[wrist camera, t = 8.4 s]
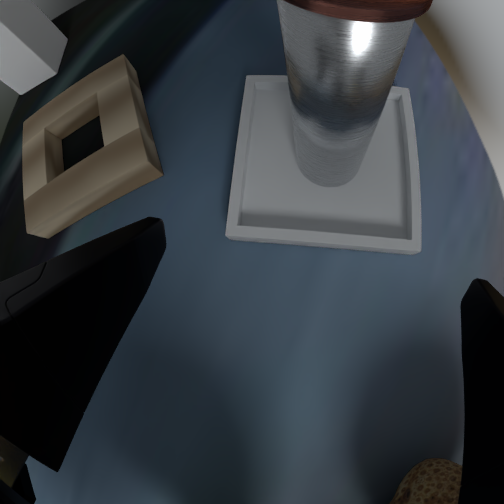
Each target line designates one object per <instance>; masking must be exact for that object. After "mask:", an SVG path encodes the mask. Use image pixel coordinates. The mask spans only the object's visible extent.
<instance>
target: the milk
mask: <svg viewBox="0 0 504 504" xmlns="http://www.w3.org/2000/svg"><path fill="white" fill-rule="evenodd" d="M67 41H68V39H67V38H66V37H65V36H64V35H63V33H62V32H61V31H60V30H59V29H58V28H57V27H56V26H55V25H54V24H53V23H52V22H51V20H49V18H48V17H47V16H46V15H45V14H44V13H43V12H42V11H41V10H40V9H39V8H38V6H37V5H36V4H35V3H34V2H33V1H32V0H0V80H1V81H3V82H4V83H5V84H7V85H8V86H9V87H10V88H12V89H13V90H15V91H16V92H17V93H19V94H20V95H22V94H24V93H26V92H27V91H29V90H30V89H32V88H34V87H35V86H37V85H39V84H40V83H42V82H44V81H45V80H47V79H49V78H51V77H53V76H54V75H56V74H57V73H58V69H59V66H60V63H61V59H62V56H63V53H64V50H65V47H66V44H67Z"/></svg>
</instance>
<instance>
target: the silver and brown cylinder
mask: <svg viewBox="0 0 504 504" xmlns="http://www.w3.org/2000/svg"><path fill="white" fill-rule="evenodd" d="M432 1H433V0H277V5H278V12H279V18H280V25H281V32H282V39H283V46H284V54H285V61H286V69H287V77H288V86H289V94H290V103H291V112H292V122H293V132H294V143H295V153H296V162H297V165H298V168H299V170H300V171H301V173H302V174H303V175H304V176H305V177H306V178H307V179H308V180H309V181H311V182H312V183H314V184H317V185H319V186H323V187H338V186H342V185H344V184H346V183H348V182H350V181H351V180H352V179H353V178H354V177H355V176H356V174H357V173H358V171H359V169H360V166H361V164H362V161H363V159H364V157H365V154H366V152H367V149H368V147H369V144H370V142H371V139H372V137H373V134H374V132H375V129H376V127H377V124H378V122H379V119H380V117H381V114H382V111H383V109H384V106H385V103H386V101H387V98H388V95H389V93H390V90H391V87H392V84H393V82H394V79H395V76H396V73H397V70H398V68H399V65H400V62H401V59H402V56H403V53H404V50H405V47H406V44H407V41H408V38H409V35H410V32H411V29H412V26H413V23H414V19H415V18H417V17H419V16H421V15H423V14H424V13H425V12H426V11H428V10H429V8H430V6H431V4H432Z"/></svg>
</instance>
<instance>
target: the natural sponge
mask: <svg viewBox="0 0 504 504" xmlns="http://www.w3.org/2000/svg"><path fill="white" fill-rule="evenodd" d="M461 475H462V466H461V465H459V464H457V463H454V462H452V461H450V460H446V459H442V458H430V459H426V460H424V461H422V462H420V463H418V464H417V465H415V466H414V467H413V468H412V469H411V470H410V471H409V472H408V473H407V474H406V476H405V477H404V478H403V480H402V481H401V483H400V485H399V487H398V488H397V491H396V494H395V496H394V497H393V499H392V501H391V502H390V503H389V504H458V499H459V491H460V486H461Z"/></svg>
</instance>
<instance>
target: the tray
mask: <svg viewBox="0 0 504 504" xmlns="http://www.w3.org/2000/svg"><path fill="white" fill-rule="evenodd" d="M225 236H227V237H228V238H229V239H230V240H237V241H250V242H263V243H275V244H288V245H300V246H313V247H325V248H337V249H349V250H360V251H372V252H383V253H395V254H406V255H414V254H416V253H419V252H421V195H420V176H419V163H418V152H417V142H416V133H415V125H414V118H413V111H412V105H411V98H410V93H409V89H407V88H401V87H396V86H392V87H391V90H390V93H389V95H388V98H387V101H386V103H385V106H384V109H383V111H382V114H381V117H380V119H379V122H378V124H377V127H376V129H375V132H374V134H373V137H372V139H371V142H370V144H369V147H368V149H367V152H366V154H365V157H364V159H363V161H362V164H361V166H360V169H359V171H358V173H357V174H356V176H355V177H354V178H353V179H352V180H351V181H350V182H348V183H346V184H344V185H342V186H338V187H323V186H319V185H317V184H314V183H312V182H311V181H309V180H308V179H307V178H306V177H305V176H304V175H303V174H302V173H301V171H300V170H299V168H298V165H297V162H296V153H295V143H294V132H293V122H292V112H291V103H290V94H289V86H288V77H287V76H283V75H246V82H245V89H244V96H243V103H242V109H241V117H240V124H239V131H238V138H237V146H236V153H235V161H234V168H233V176H232V184H231V192H230V200H229V209H228V217H227V225H226V234H225Z"/></svg>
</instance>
